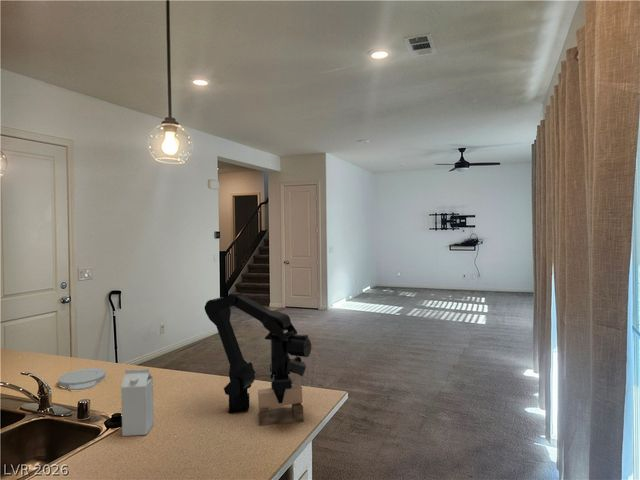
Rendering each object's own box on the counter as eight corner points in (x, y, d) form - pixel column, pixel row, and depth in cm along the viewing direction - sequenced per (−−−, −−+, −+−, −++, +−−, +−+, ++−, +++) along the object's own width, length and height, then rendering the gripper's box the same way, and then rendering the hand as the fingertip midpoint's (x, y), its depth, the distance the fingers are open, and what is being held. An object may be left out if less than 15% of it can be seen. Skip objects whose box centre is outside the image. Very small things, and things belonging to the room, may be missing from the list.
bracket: (259, 425, 130) (259, 410, 130) (259, 412, 139) (258, 399, 139) (303, 421, 133) (303, 407, 132) (300, 409, 142) (300, 396, 141)
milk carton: (131, 425, 131) (129, 366, 131) (154, 424, 132) (152, 365, 131) (122, 436, 124) (120, 374, 124) (146, 435, 125) (145, 373, 124)
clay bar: (260, 409, 132) (259, 394, 132) (258, 405, 136) (257, 390, 136) (302, 402, 136) (301, 387, 136) (300, 398, 140) (299, 383, 139)
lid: (56, 396, 156) (55, 388, 156) (59, 379, 174) (59, 372, 174) (107, 387, 165) (107, 379, 165) (105, 372, 182) (105, 365, 182)
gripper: (307, 360, 127) (308, 410, 128) (301, 344, 146) (301, 388, 146) (271, 363, 126) (272, 413, 126) (269, 345, 144) (269, 390, 145)
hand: (280, 400), depth 136 cm, fingers closed on clay bar, 4 cm apart
